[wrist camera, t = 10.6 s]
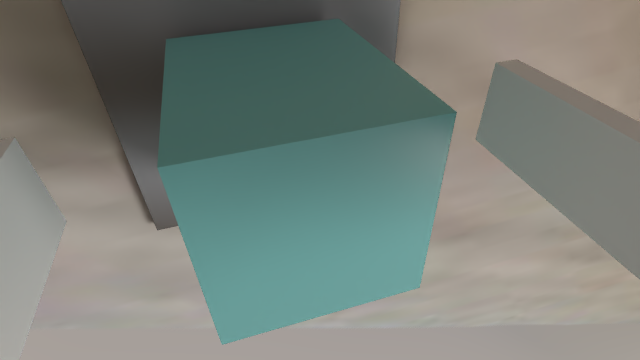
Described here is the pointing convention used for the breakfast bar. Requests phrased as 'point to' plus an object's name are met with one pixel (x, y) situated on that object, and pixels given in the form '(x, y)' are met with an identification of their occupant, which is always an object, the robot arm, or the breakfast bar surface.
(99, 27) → the grey square base stand
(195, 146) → the teal rectangular block
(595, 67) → the breakfast bar surface
